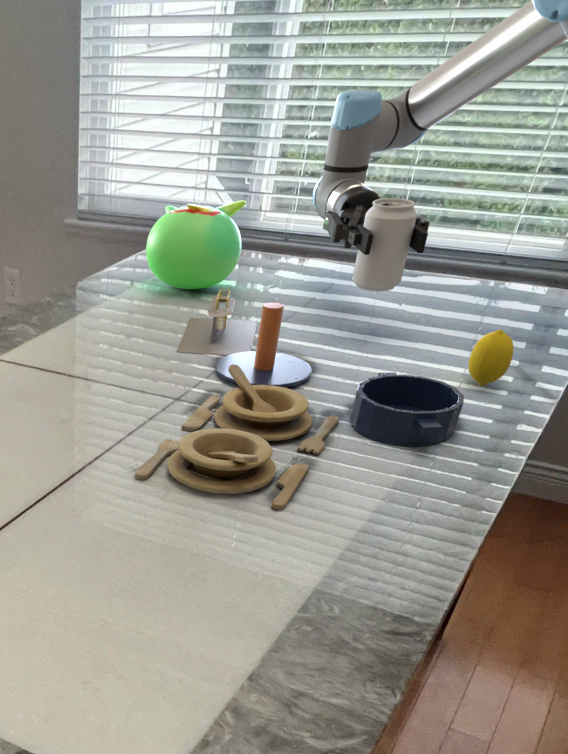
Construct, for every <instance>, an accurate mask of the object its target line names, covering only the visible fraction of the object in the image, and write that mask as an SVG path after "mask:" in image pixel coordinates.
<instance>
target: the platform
mask: <svg viewBox="0 0 568 754" xmlns="http://www.w3.org/2000/svg"><path fill="white" fill-rule="evenodd" d="M224 291H226V292H227V294H226V293H225V292H224ZM220 303H222V304H223V303H224V304H225V308H220ZM235 305H236V298H235V297H231V289H226V288H219V290H218V294H215V295H213V297H212V298H211V301H210V304H209V307H208V310H207V313H206V316H207V317H208V318H205V317H189V319H188V322H187V324H186V327H185V329H184V331H183V334H182V336H181V339H180V342H179V345H178V347H177V349H176V353H189V354H190V353H191V354H202V355H203V354H204V355H205V354H206V355H219V356H228V355H231V354H235V353H240V352H248V351H253V345H254V340H255V335H256V332H257V326H258V320H244V319H243V320H241V319H228V316H231V315H233V313H234V309H235Z"/></svg>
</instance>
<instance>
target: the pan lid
mask: <svg viewBox="0 0 568 754" xmlns="http://www.w3.org/2000/svg"><path fill="white" fill-rule="evenodd" d="M284 309H285V306H284V304H283V303H281V302H277V301H269V302H265V303H263V304H262V310H261V316H260V323H259V330H258V335H257V342H256V349H255V350H251V351H248V352H240V353H235V354H231V355H224V356H223V357H222V358H221V359H219V360H218V361H217V363H216V367H215V371H216V373H217V374H218V375H219V376H220V377H221V378H222V379H224V380H226V381H228V382H230V383H233V384H236V385H238V384H237V382H236V381H235V380H234V379H233V377H232V376H231V375H230V373H229V371H228V369H229V366H230V365H233V364H234V365H238V366H239V367H240V368H241V370H242V371H243V373H244V374H245V376H246V377H247V379H248V380H249V382H250V383H251V385H272V386H278V387H284V388H288V387H293V386H297V385H300V384H303V383H304V382H306V381H308V380H309V379H310V377H311V376H312V371H313V370H312V366H311V365H310V364H309V363H308V362H306V361H305V360H303V359H301V358H299V357H297V356H295V355H291V354H287V353H283V352H277V350H278V345H279V339H280V332H281V327H282V322H283V321H282V320H283V313H284Z"/></svg>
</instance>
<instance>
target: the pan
mask: <svg viewBox="0 0 568 754" xmlns="http://www.w3.org/2000/svg"><path fill="white" fill-rule="evenodd" d="M464 401H465V395H464V394H463V393H462V392H461V390H459V388H457V387H455V386H453V385H451V384H449V383H446V382H445V381H442V380H438V379H434V378H431V377H427V376H421V375H413V374H404V373H403V374H401V373H400V374H398V373H397V372H395V371H393V372H378V375H377V376H372V377H369V378H366V379H365V380H364V381H361V382H360V383H358V386H357V389H356V393H355V397H354V401H353V406H352V410H351V414H350V418H349V419H350V420H349V422H350V425H351V427H352V429H353V430H355V431H356V433H358V434H360V435H362V436H364V437H366V438H367V439H370V440H373V441H376V442H379V443H383V444H387V445H392V446H400V447H415V448H416V447H429V446H433V445H434V446H435V445H439V444H441V443H444V442H446V441H448V440H449V439H450V438H451V437H452V436H453V434H454V433H455V430H456V428H457V425H458V421H459V418H460V415H461V412H462V409H463V406H464V403H465V402H464Z"/></svg>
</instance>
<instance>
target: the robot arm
mask: <svg viewBox="0 0 568 754" xmlns="http://www.w3.org/2000/svg"><path fill="white" fill-rule="evenodd" d="M565 41H568V0H530V1H529V2H527V3H526V4H525V5H522V7H520V8H518V10H516V11H515V12H513V13H512V14H510V15H509V16H508V17H506V18H505V19H503V20H502V21H501V22H499V23H497V24H496V25H495V26H493V27H491V29H489V30H487V31H486V32H485V33H484V34H482V35H481V36H479V37H478V38H476V39H475V40H474V41H472V42H471V43H469V44H468V45H467V46H465V47H464V48H462V49H461V50H460V51H459V52H457V53H455V54H454V55H452V56H451V57H450V58H448V59H447V60H445V61H444V62H443V63H441V64H440V65H438V66H437V67H435V68H434V69H433V70H432V71H429V72H428V73H427V74H426V75H424V76H423V77H421V78H420V79H419V80H417V81H416V82H414V83H413V85H410V86H409V87H407V88H406V89H405V90H403V91H402V92H401V93H399V94H398V95H396V96H395V97H393V98H391V99H386V100H382V99H383V95H382V93H381V92H380V91H378V90H371V89H369V90H368V89H355V90H345V91H343V92H341V93H339V95H338V96H337V98H336V100H335V104H334V110H333V112H332V113H333V114H332V117H331V120H330V126H329V127H330V128H329V133H328V140H327V146H326V152H325V159H324V165H323V169H322V173H321V177H320V178H319V179H318V181H317V182H316V184H315V185H314V188H313V192H312V204H313V206H314V208H315V210H316V213H317V214H318V216H319V217H320V218H322V219H323V224H322V229H323V230H324V231H326V232H327V233H328V235H329V237H330V241H331V242H332V243H334V244H338V243H341V240H344V242H343V248H344V249H352V246H354V247H355V248H356V249H357V250H358V249H359V250H360V251H361V252H362V253H363V254H364V255H369V254H370V250H371V245H372V241H373V236H374V235H373V234H372V233H371V232H370V231H368V230H367V229H366V228H365V227H364V226H363V225H364V220H365V215H366V212H367V211H368V210H369V209H370V208H371V207H372V206H373V203H372V202H373V201H374V200H377V199H382V198H381V197H380V195H379V194H378V193H377V192H376V191H374V190H373V189H372V188H371V187H369V186H367V185H366V184H365V182H366V178H367V172H368V169H369V164H370V159H371V156H372V155H371V154H376V153H380V152H385V151H391V150H395V149H397V150H398V149H399V150H400V149H404V148H406V147H409V146H410V145H413V144H415V143H417V142H418V141H420V140H421V139H422V138H423V137H424V135H425V134H426V133H427V131H428V130H429V129H430V128H431V127H433V126H435V125H436V124H438V123H439V122H441V121H443V120H444V119H445V118H448V117H449V116H450V115H451V114H453V113H454V112H457V111H458V110H460V109H461V108H463V107H465V106H466V105H467V104H469V103H471V102H472V101H473V100H475V99H477V98H478V97H479V96H482V95H483V94H485V93H486V92H488V91H489V90H491V89H492V88H494V87H496V86H497V85H499V84H500V83H502V82H503V81H505V80H506V79H508V78H510V77H511V76H513V75H514V74H515V73H517V72H519V71H521V70H522V69H523V68H525V67H527V66H528V65H530V64H531V63H533V62H534V61H536V60H537V59H539V58H540V57H542V56H544V55H545V54H547V53H549V52H550V51H551V50H554V49H555V48H556V47H558V46H560V45H561V44H562V43H564V42H565ZM430 222H431V221H429V220H426V219H424V218H422V217H420V216H419V215H417V217H416V222H415V226H414V230H413V234H412V238H411V242H410V246H409V248H411V249H412V250H413V251H415V252H416V253H417V254H424V253H425V247H426V244H427V239H428V236H429V228H430V224H431V223H430Z"/></svg>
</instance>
